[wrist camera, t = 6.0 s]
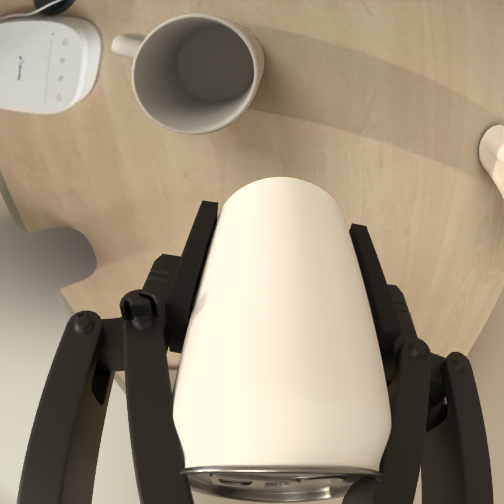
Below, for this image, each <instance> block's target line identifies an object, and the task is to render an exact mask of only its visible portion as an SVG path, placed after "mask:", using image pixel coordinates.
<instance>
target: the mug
mask: <svg viewBox="0 0 504 504" xmlns="http://www.w3.org/2000/svg"><path fill="white" fill-rule="evenodd" d="M112 51H113V52H114V53H116V54H118V55H121V56H124V57H127V58H130V59H133V60H134V62H133V67H132V86H133V90H134V94H135V96H136V99H137V101H138V103H139V105H140V106H141V108H142V109H143V110H144V112H145V113H146V114H147V115H148V116H149V117H150V118H151V119H152V120H153V121H154V122H156V123H157V124H159V125H160V126H162V127H164V128H166V129H168V130H170V131H174V132H177V133H181V134H189V135H200V134H207V133H211V132H215V131H218V130H220V129H222V128H225V127H226V126H228V125H230V124H232V123H233V122H234V121H235V120H237V119H238V118H239V117H240V116H241V115H242V114H243V113H244V112H245V111H246V110H247V108H248V107H249V106H250V104H251V103H252V101H253V99H254V97H255V95H256V92H257V90H258V86H259V83H260V80H261V78H262V75H263V72H264V66H265V59H264V53H263V50H262V47H261V45H260V43H259V41H258V40H257V38H256V37H255V36H254V35H253V34H252V33H251V32H250V31H249V30H247V29H246V28H244V27H243V26H241V25H238V24H236V23H233V22H231V21H228V20H226V19H224V18H221V17H218V16H215V15H210V14H200V13H194V14H186V15H182V16H178V17H175V18H172V19H170V20H168V21H166V22H164V23H162V24H160V25H159V26H158V27H156V28H155V29H154V30H153V31H152V32H151V33H150V34H148V35H143V34H133V33H129V34H120V35H118V36H117V37H116V38H115V39H114V41H113V43H112Z"/></svg>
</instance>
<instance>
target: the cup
mask: <svg viewBox="0 0 504 504" xmlns="http://www.w3.org/2000/svg"><path fill="white" fill-rule="evenodd" d="M479 159H480V161H481V163H482V166H483V167H484V168H485V169H486V170H487V172H488V173H489V175H490V176H491V178H492V180H493V181H494V183H495V184H496V186H497V188H498V189H499V191H500V192H501V194H502V196H503V199H504V126H503V125H496V126H492V127H490V128H489V129H488V130H486V131H485V133H484V134H483V136H482V138H481V140H480V144H479Z"/></svg>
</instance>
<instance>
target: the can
mask: <svg viewBox="0 0 504 504" xmlns="http://www.w3.org/2000/svg"><path fill="white" fill-rule="evenodd" d="M172 402H173V419H174V424H175V427H176V430H177V433H178V436H179V442H180V447H181V451H182V456H183V461H184V466H185V468H184V469H181V470H180V474H181V475H187V476H188V480H189V484H190V488H191V490H192V491H196V492H199V493H202V494H206V495H211V496H216V497H220V498H226V499H233V500H240V501H251V502H268V503H291V502H309V501H319V500H327V499H333V498H339V497H344V495H345V494H346V493H347V491H348V490H349V488H350V487H351V485H352V484H353V483H354V482H356V481H358V480H360V479H362V478H364V477H366V476H372V477H375V478H376V479H377V480H378V481H382V480H383V475H382V474H381V473H380V472H379V465H380V461H381V458H382V455H383V452H384V450H385V447H386V444H387V441H388V439H389V435H390V431H391V411H390V404H389V397H388V391H387V385H386V379H385V374H384V369H383V364H382V359H381V354H380V349H379V344H378V340H377V335H376V331H375V326H374V322H373V318H372V314H371V309H370V305H369V301H368V297H367V294H366V290H365V286H364V282H363V278H362V275H361V271H360V268H359V264H358V261H357V257H356V254H355V250H354V247H353V244H352V240H351V237H350V234H349V231H348V228H347V225H346V222H345V219H344V216H343V214H342V212H341V210H340V208H339V206H338V205H337V203H336V202H335V200H334V199H333V198H332V197H331V196H330V195H329V194H328V193H326V192H325V191H324V190H323V189H321V188H319V187H318V186H316V185H314V184H312V183H310V182H307V181H304V180H300V179H296V178H290V177H273V178H266V179H262V180H258V181H255V182H253V183H250V184H248V185H246V186H244V187H243V188H241V189H240V190H238V191H237V192H236V193H234V194H233V195H232V196H231V197H230V198H229V199H228V200H227V202H226V203H225V204H224V206H223V208H222V209H221V211H220V214H219V216H218V219H217V222H216V225H215V228H214V231H213V235H212V238H211V242H210V245H209V249H208V252H207V256H206V259H205V263H204V267H203V270H202V274H201V278H200V282H199V285H198V289H197V293H196V297H195V301H194V305H193V308H192V312H191V316H190V320H189V324H188V328H187V332H186V337H185V341H184V345H183V349H182V353H181V358H180V362H179V366H178V371H177V375H176V380H175V384H174V389H173V393H172Z"/></svg>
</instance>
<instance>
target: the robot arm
mask: <svg viewBox="0 0 504 504" xmlns="http://www.w3.org/2000/svg"><path fill="white" fill-rule="evenodd" d="M217 212H218V203H217V202H209V201H202V203H201V206H200V208H199V211H198V213H197V216H196V218H195V221H194V224H193V226H192V229H191V232H190V234H189V237H188V240H187V242H186V245H185V248H184V250H183V253H182V256H181V257H180V256H173V255H167V254H162V255H161V256H160V257H159V258H158V259H156V260H155V261H154V263H153V266H152V268H151V271H150V273H149V275H148V277H147V280H146V282H145V284H144V287H143V289H142V290H141V289H138V290H134V291H131V292H129V293H127V294H125V296H124V297H123V298H122V299H121V302H120V310H121V314H122V317H120V318H113V319H101V318H100V316H99V315H98V314H96V313H95V312H92V311H81V312H78V313H76V314H74V315H73V316H72V317H71V318H70V320H69V321H68V323H67V325H66V328H65V331H64V333H63V336H62V338H61V341H60V343H59V346H58V349H57V351H56V354H55V357H54V360H53V363H52V365H51V368H50V371H49V374H48V377H47V380H46V383H45V386H44V389H43V392H42V396H41V399H40V403H39V406H38V409H37V413H36V416H35V420H34V423H33V427H32V431H31V435H30V439H29V443H28V447H27V451H26V456H25V460H24V465H23V470H22V475H21V480H20V486H19V492H18V498H17V504H91V503H92V494H93V487H94V480H95V473H96V466H97V459H98V454H99V448H100V442H101V436H102V431H103V426H104V421H105V416H106V411H107V406H108V401H109V397H110V392H111V388H112V383H113V379H114V375H115V371H125V383H126V398H127V410H128V421H129V430H130V439H131V448H132V455H133V462H134V469H135V475H136V482H137V488H138V493H139V499H140V504H194V500H193V497H192V492H191V488H190V484H189V480H188V476H187V475H181V474H180V470H181V469H184V468H185V466H184V461H183V456H182V451H181V447H180V442H179V436H178V433H177V430H176V427H175V424H174V419H173V402H172V391H171V384H170V378H169V371H168V363H167V356H166V354H167V350H168V347H169V349H170V351H171V352H176V353H182V349H183V345H184V341H185V337H186V332H187V328H188V324H189V320H190V316H191V312H192V308H193V305H194V301H195V297H196V293H197V289H198V285H199V282H200V278H201V274H202V270H203V267H204V263H205V259H206V256H207V252H208V249H209V245H210V242H211V238H212V235H213V231H214V228H215V225H216V222H217ZM349 234H350V237H351V240H352V244H353V247H354V250H355V254H356V257H357V261H358V264H359V268H360V271H361V275H362V278H363V282H364V286H365V290H366V294H367V297H368V301H369V305H370V309H371V314H372V318H373V322H374V326H375V331H376V335H377V340H378V344H379V349H380V354H381V359H382V364H383V369H384V374H385V379H386V385H387V391H388V397H389V404H390V411H391V431H390V435H389V439H388V441H387V444H386V447H385V450H384V452H383V455H382V458H381V461H380V465H379V472H380V473H381V474H382V475H383V480H382V481H378V480H377V479H376V478H375V477H372V476H366V477H364V478H362V479H360V480H358V481H356V482H354V483H353V484H352V485H351V487H350V488H349V490H348V491H347V493H346V494H345V495H344V499H343V502H342V504H413V501H414V496H415V492H416V487H417V482H418V477H419V471H420V466H421V479H422V504H493V488H492V476H491V466H490V458H489V451H488V444H487V437H486V431H485V425H484V420H483V415H482V410H481V405H480V401H479V396H478V392H477V387H476V383H475V380H474V375H473V371H472V368H471V364H470V362H469V360H468V359H467V358H466V356H464V355H463V354H461V353H459V352H452V353H450V354H449V355H448V356H447V357H446V358H445V357H442V356H439V355H436V354H433V353H431V352H430V349H429V347H428V345H427V344H426V343H425V342H424V341H423V340H421V339H419V338H418V337H417V334H416V331H415V328H414V325H413V322H412V318H411V315H410V312H409V309H408V307H407V305H406V301H405V298H404V295H403V293H402V292H401V291H400V289H399V288H398V287H397V286H396V285H388V284H387V283H386V280H385V277H384V274H383V271H382V268H381V265H380V263H379V260H378V257H377V254H376V251H375V249H374V246H373V243H372V241H371V238H370V235H369V233H368V230H367V227H366V226H363V225H358V224H352V225H351V228H350V231H349ZM445 398H446V401H447V404H446V402H445Z"/></svg>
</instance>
